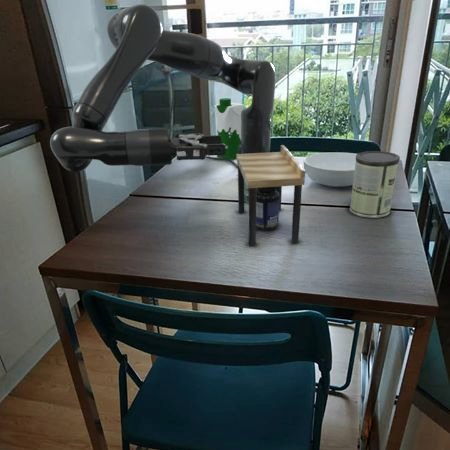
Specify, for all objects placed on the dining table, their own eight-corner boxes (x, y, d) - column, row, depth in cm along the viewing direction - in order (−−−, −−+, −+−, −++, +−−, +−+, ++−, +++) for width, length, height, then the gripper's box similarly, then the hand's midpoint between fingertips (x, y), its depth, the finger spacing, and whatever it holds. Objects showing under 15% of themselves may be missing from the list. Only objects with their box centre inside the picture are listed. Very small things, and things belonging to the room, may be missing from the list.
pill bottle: (278, 221, 111) (280, 178, 105) (278, 231, 106) (280, 186, 100) (254, 221, 112) (254, 178, 106) (253, 230, 106) (253, 186, 101)
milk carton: (213, 157, 165) (211, 99, 154) (229, 152, 170) (228, 95, 160) (231, 160, 160) (230, 101, 149) (247, 155, 165) (247, 97, 155)
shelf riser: (237, 211, 118) (236, 147, 109) (281, 208, 118) (283, 145, 109) (247, 246, 99) (247, 173, 90) (300, 243, 100) (305, 170, 91)
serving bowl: (376, 176, 139) (379, 154, 136) (365, 197, 124) (368, 173, 120) (311, 170, 147) (313, 149, 143) (293, 189, 131) (295, 166, 127)
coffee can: (353, 201, 121) (360, 149, 113) (392, 206, 117) (402, 152, 110) (345, 215, 113) (352, 159, 106) (386, 220, 109) (397, 163, 102)
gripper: (146, 136, 88) (226, 133, 89) (148, 123, 100) (219, 120, 101) (149, 174, 92) (227, 170, 93) (151, 156, 104) (220, 154, 105)
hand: (223, 144), depth 97 cm, fingers open, 8 cm apart
